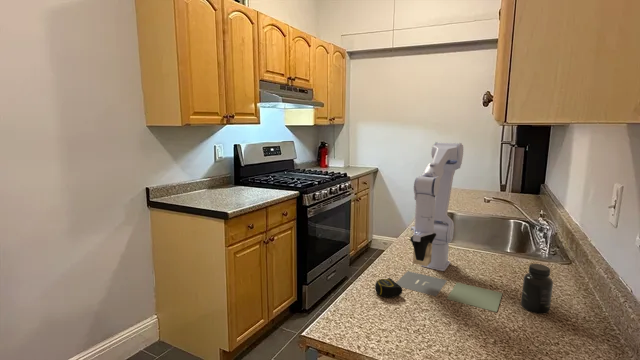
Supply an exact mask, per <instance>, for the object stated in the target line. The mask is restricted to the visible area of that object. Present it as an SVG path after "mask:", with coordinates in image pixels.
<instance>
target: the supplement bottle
mask: <svg viewBox="0 0 640 360" xmlns="http://www.w3.org/2000/svg"><path fill="white" fill-rule="evenodd" d="M528 267H529V268H528V272H527V273H526V274H524V276H523V282H522V289H521V290H522V291H521V302H520V304H521V306H522V308H524V309H525V310H526V311H528V312H530V313H533V314H537V315H538V314H539V315H545V314H548V313H549V312H550V308H551V305H552V304H551V303H552V295H553V287H554V282H553V279H552V278H551V277H550V276H551V268H550V267H548V266H547V265H544V264H541V263H531V264H529V266H528Z"/></svg>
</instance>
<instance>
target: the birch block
mask: <svg viewBox="0 0 640 360" xmlns="http://www.w3.org/2000/svg"><path fill="white" fill-rule="evenodd" d="M412 254H413V255H412V260H413V261H412V264H415V265H418V266H419V265H420V266H421V265H423V266H428V265H429V264H430V262H431V255H432V243H429V244H428V246H427V248H426V253H425V257H424V260H423V261H420V260H416V256H415V251H414V250H413V253H412ZM423 266H422V267H423Z"/></svg>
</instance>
